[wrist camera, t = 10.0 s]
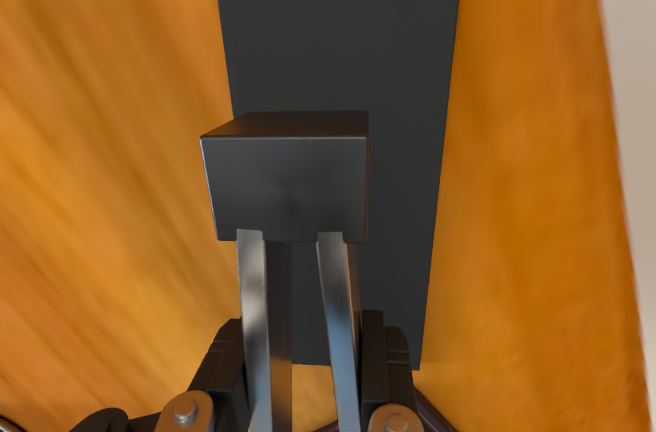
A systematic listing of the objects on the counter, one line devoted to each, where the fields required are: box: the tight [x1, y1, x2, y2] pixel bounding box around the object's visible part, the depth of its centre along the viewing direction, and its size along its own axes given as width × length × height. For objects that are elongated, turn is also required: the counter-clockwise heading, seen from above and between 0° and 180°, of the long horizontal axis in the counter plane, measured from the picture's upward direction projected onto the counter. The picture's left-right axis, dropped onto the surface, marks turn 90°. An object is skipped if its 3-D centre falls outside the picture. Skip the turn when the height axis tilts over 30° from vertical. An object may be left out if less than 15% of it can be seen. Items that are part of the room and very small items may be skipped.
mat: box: [218, 0, 459, 371], centre depth 19 cm, size 21×10×1 cm, turn 1°
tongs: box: [200, 110, 369, 432], centre depth 12 cm, size 16×5×3 cm, turn 1°
